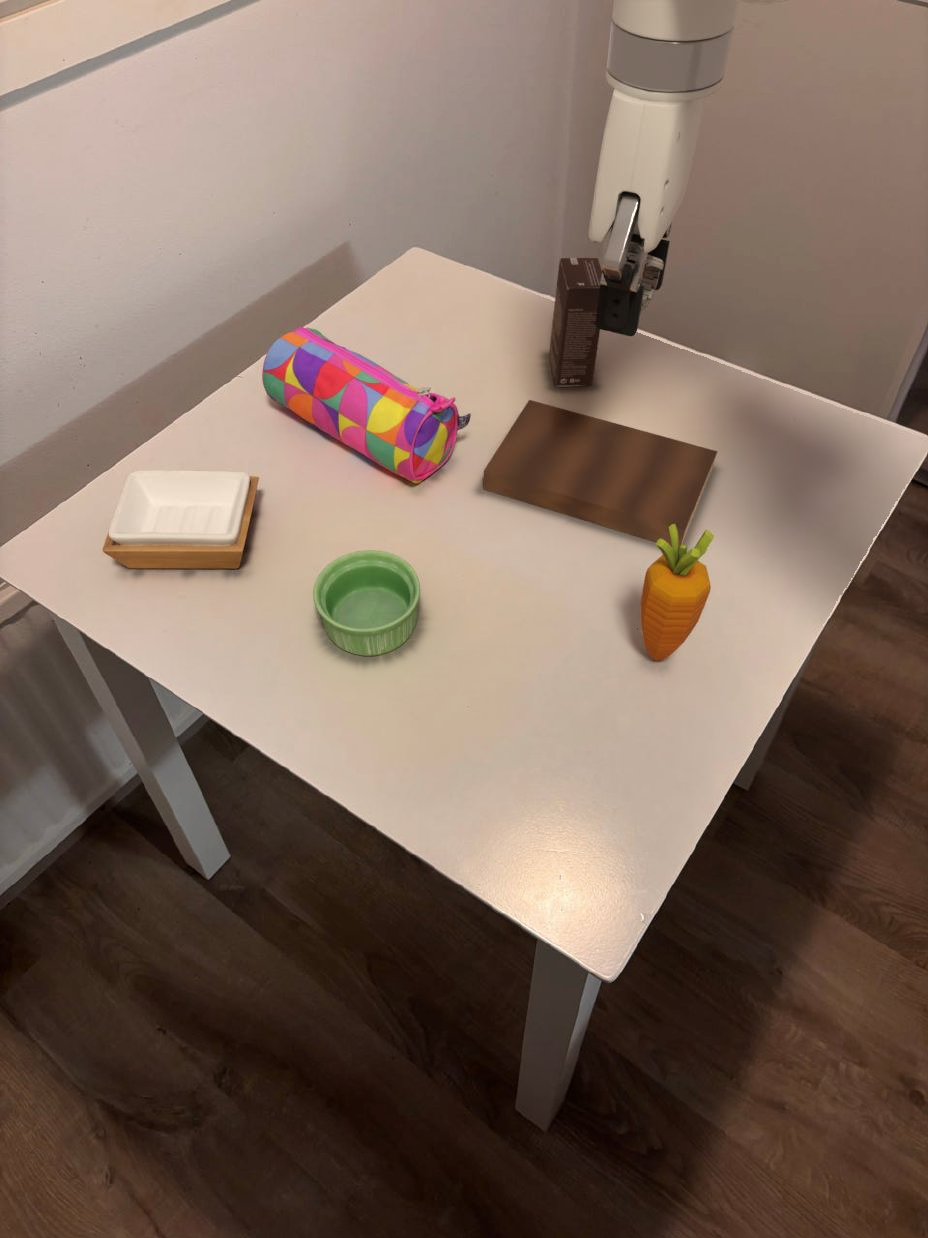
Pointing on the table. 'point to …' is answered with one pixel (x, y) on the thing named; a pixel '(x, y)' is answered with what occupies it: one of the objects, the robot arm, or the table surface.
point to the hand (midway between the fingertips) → (629, 305)
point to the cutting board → (600, 472)
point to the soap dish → (182, 519)
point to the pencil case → (362, 404)
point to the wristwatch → (647, 276)
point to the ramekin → (368, 601)
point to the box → (575, 322)
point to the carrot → (673, 595)
